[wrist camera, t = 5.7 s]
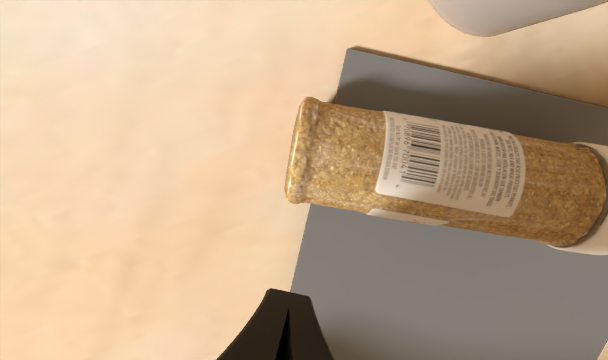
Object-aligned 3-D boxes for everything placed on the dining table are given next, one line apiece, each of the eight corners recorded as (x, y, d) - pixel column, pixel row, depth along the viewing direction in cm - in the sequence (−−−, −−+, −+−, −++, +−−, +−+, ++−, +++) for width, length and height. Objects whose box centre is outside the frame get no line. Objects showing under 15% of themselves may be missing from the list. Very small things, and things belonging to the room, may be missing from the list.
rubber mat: (556, 414, 20) (560, 420, 20) (274, 358, 20) (273, 363, 19) (716, 133, 15) (727, 134, 15) (347, 49, 15) (348, 48, 14)
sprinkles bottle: (280, 219, 14) (579, 271, 14) (285, 158, 10) (694, 230, 10) (296, 140, 17) (551, 185, 17) (305, 68, 13) (636, 126, 13)
